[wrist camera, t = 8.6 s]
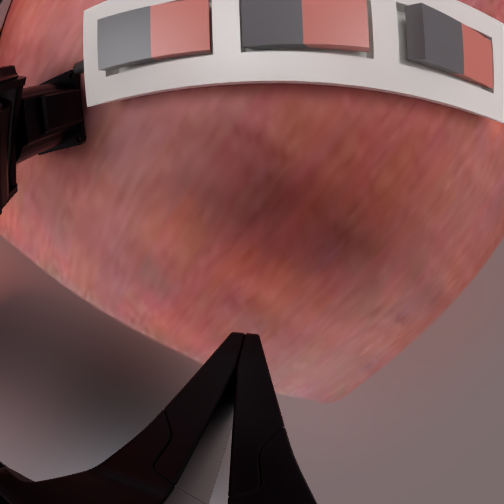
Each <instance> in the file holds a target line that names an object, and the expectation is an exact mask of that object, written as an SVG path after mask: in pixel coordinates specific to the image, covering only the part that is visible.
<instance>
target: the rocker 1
mask: <svg viewBox="0 0 504 504" xmlns="http://www.w3.org/2000/svg"><path fill="white" fill-rule="evenodd" d="M97 49H98V70H102V71H110V70H114V69H118V68H122V67H126V66H131V65H135V64H140V63H145V62H150V61H156V60H161V59H168V58H174V57H181V56H189V55H199V54H209V53H211V47H210V17H209V0H182V1H175V2H169V3H163V4H157V5H152V6H147V7H142V8H138V9H134V10H130V11H126V12H122V13H118V14H115V15H111V16H108V17H104V18H101V19H98V20H97Z"/></svg>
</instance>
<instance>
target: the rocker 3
mask: <svg viewBox="0 0 504 504" xmlns="http://www.w3.org/2000/svg"><path fill="white" fill-rule="evenodd" d="M404 7H405V17H406V30H407V51H408V60H411V61H414V62H417V63H421V64H424V65H427V66H430V67H432V68H435V69H438V70H441V71H443V72H446V73H449V74H451V75H454V76H456V77H459V78H461V79H463V80H466V81H468V82H470V83H472V84H475V85H477V86H482V87H487V88H492V89H493V66H492V47H491V41H490V40H488V39H487V38H485V37H484V36H482V35H481V34H479V33H478V32H476V31H474V30H473V29H471V28H470V27H468V26H466V25H464V24H463V23H461V22H459V21H457V20H456V19H454V18H452V17H450V16H448V15H446V14H444V13H442V12H440V11H438V10H436V9H434V8H432V7H430V6H428V5H426V4H423V3H417V4H412V5H408V6H404Z"/></svg>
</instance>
